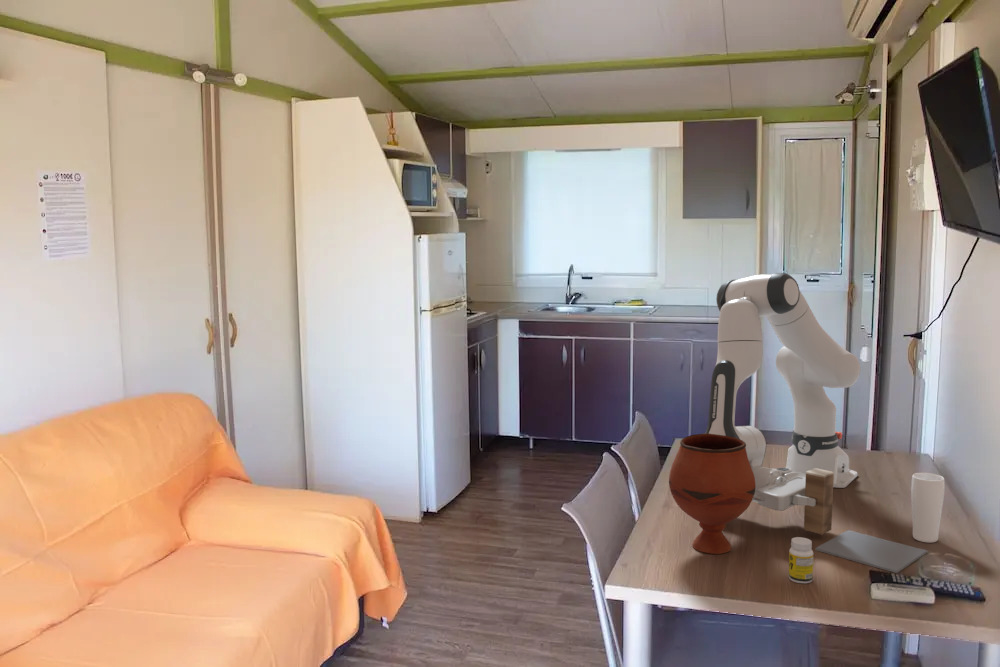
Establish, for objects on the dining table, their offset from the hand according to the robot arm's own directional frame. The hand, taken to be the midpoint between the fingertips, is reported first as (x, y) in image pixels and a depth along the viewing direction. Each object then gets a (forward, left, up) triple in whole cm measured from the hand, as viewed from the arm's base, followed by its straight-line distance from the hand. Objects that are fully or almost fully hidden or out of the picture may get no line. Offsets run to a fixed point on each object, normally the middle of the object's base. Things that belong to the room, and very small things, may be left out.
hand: (822, 499), depth 196 cm
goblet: (+23, -15, -9) cm, 29 cm away
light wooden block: (0, -1, -7) cm, 8 cm away
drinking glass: (-16, +17, -9) cm, 25 cm away
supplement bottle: (+25, +8, -9) cm, 28 cm away
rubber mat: (0, +12, -9) cm, 15 cm away
